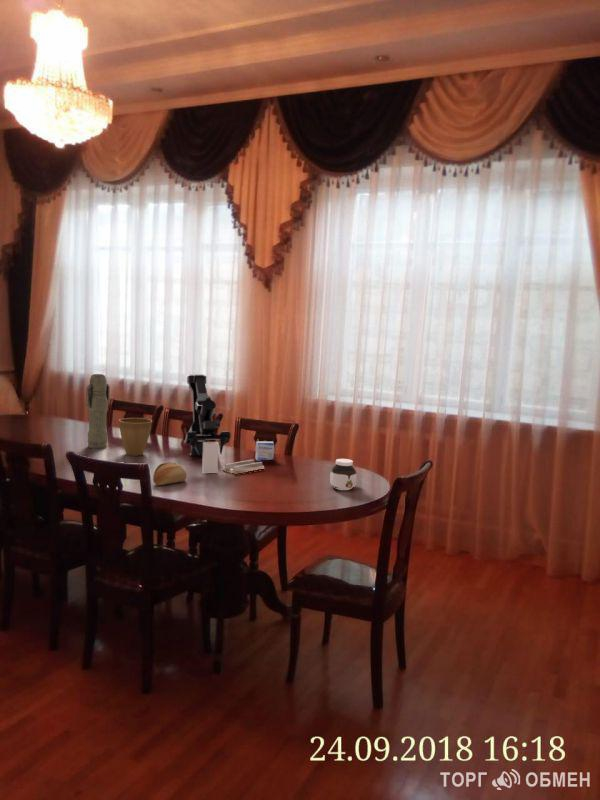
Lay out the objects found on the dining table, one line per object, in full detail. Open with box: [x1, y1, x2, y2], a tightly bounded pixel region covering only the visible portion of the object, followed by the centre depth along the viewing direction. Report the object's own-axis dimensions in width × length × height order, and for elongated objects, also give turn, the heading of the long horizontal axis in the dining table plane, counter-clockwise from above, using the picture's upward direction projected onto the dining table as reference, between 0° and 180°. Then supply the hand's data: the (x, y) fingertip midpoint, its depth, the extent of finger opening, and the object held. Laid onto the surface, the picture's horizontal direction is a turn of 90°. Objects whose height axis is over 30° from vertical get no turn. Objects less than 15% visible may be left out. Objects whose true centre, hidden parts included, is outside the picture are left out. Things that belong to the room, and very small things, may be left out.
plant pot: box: [118, 417, 153, 457], centre depth 290 cm, size 15×15×16 cm
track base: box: [222, 459, 265, 475], centre depth 272 cm, size 9×16×3 cm, turn 136°
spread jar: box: [329, 458, 357, 488], centre depth 253 cm, size 12×11×12 cm
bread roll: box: [152, 461, 188, 486], centre depth 246 cm, size 10×15×8 cm, turn 143°
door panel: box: [201, 441, 220, 474], centre depth 264 cm, size 3×6×13 cm, turn 109°
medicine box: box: [254, 440, 275, 462], centre depth 293 cm, size 8×4×9 cm, turn 105°
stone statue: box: [85, 373, 111, 450], centre depth 299 cm, size 9×12×35 cm
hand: (210, 454), depth 264 cm, fingers open, 9 cm apart
